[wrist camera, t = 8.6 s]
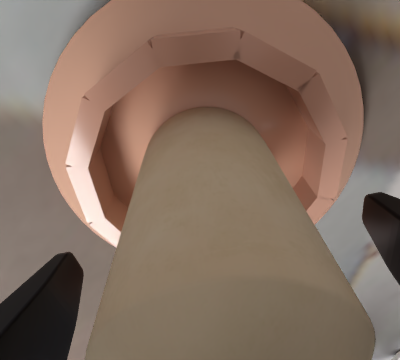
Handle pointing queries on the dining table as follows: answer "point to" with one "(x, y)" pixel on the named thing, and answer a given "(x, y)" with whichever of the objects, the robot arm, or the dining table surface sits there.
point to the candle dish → (199, 96)
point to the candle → (223, 258)
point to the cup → (396, 356)
